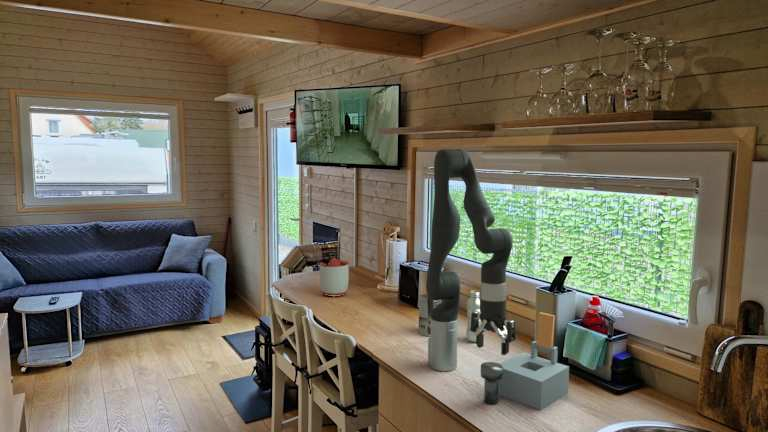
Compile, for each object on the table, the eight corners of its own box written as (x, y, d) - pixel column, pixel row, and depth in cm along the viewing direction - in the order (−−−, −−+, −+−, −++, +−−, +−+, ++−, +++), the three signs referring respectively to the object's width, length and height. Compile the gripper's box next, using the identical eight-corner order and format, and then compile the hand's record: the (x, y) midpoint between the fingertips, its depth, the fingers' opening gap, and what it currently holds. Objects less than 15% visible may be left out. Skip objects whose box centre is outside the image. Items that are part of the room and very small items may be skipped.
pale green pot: (336, 288, 291) (335, 252, 289) (355, 295, 278) (354, 257, 275) (311, 293, 281) (311, 256, 279) (330, 300, 268) (330, 261, 265)
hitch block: (494, 392, 164) (495, 350, 163) (522, 377, 175) (523, 337, 174) (540, 410, 153) (542, 365, 151) (568, 392, 164) (569, 350, 162)
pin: (475, 401, 158) (476, 366, 157) (488, 394, 163) (489, 360, 161) (493, 408, 154) (494, 372, 152) (506, 401, 158) (507, 366, 157)
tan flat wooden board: (538, 312, 168) (541, 312, 169) (535, 349, 169) (538, 348, 170) (553, 316, 164) (555, 315, 165) (550, 353, 165) (552, 352, 166)
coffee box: (429, 337, 214) (429, 298, 212) (418, 333, 219) (418, 295, 217) (444, 332, 219) (445, 294, 217) (433, 328, 224) (434, 291, 222)
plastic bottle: (470, 344, 205) (471, 294, 203) (463, 338, 212) (463, 290, 209) (485, 343, 207) (486, 293, 205) (477, 337, 213) (478, 288, 211)
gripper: (465, 294, 157) (465, 347, 159) (506, 304, 147) (505, 360, 148) (480, 290, 162) (480, 341, 164) (521, 299, 152) (520, 353, 154)
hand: (492, 350), depth 156 cm, fingers open, 8 cm apart
